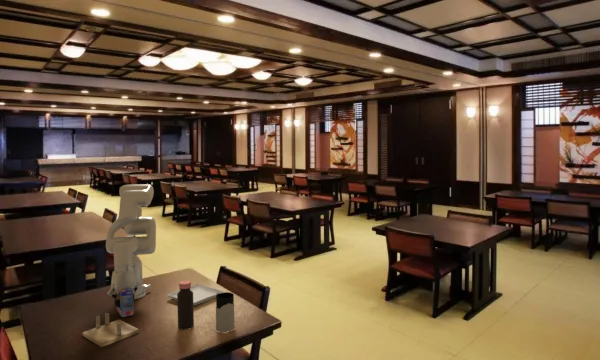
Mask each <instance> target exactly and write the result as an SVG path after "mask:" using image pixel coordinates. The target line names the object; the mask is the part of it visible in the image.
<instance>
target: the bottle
mask: <svg viewBox="0 0 600 360" xmlns="http://www.w3.org/2000/svg"><path fill="white" fill-rule="evenodd" d="M178 286H179V287H178V288H179V289H178V290H180V291H179V292H178V294H177V300H176V301H177V328H178V329H180V330H184V329H185V330H189V328H190V329H192V328H193V327H194V325H195V322H194V321H195V320H194V319H195V318H194V317H195V315H194V313H195V312H194V305H193V292H192V291H191V290H190V288H191V286H192V282H191V281H190V280H182V281H180V282H178Z"/></svg>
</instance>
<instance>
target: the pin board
mask: <svg viewBox="0 0 600 360" xmlns="http://www.w3.org/2000/svg"><path fill="white" fill-rule="evenodd" d="M139 333H140V330H139V328H137V327H135V326H133V325H131V324H130V323H127V322H126V321H123V320H121V319H117V320H114V321H111V322H110V313H109V312H105V313H104V324H103V325H101V316H100V315H96V316H95V327H93V328H91V329H88V330H85V331H82V336H83V337H84V338H86V339H88V340H89V341H91V342H92V343H94V344H95V345H97V346H99V347H100V348H103V347H106V346H108V345H111V344H113V343H116V342H118V341H121V340H125V339H126V338H128V337H129V338H130V337H131V336H134V335H136V334H139Z"/></svg>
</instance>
